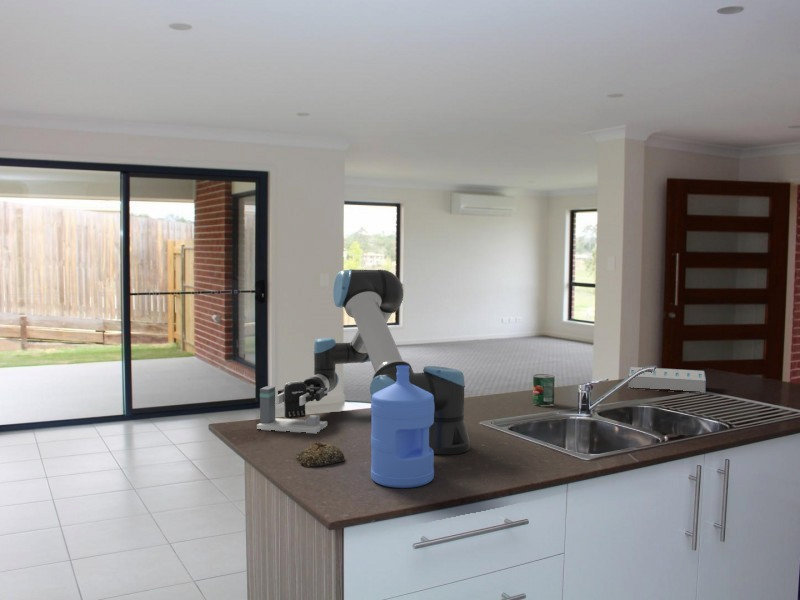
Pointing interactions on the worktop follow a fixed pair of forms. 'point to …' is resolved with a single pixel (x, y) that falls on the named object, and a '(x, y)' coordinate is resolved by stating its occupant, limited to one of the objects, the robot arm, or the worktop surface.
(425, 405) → the water jug
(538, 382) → the canned tomato
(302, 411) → the battery charger
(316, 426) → the mount
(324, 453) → the bread roll
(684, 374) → the dotted white bar
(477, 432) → the worktop surface
